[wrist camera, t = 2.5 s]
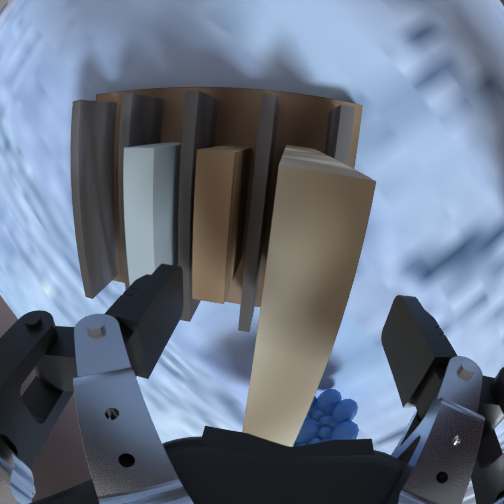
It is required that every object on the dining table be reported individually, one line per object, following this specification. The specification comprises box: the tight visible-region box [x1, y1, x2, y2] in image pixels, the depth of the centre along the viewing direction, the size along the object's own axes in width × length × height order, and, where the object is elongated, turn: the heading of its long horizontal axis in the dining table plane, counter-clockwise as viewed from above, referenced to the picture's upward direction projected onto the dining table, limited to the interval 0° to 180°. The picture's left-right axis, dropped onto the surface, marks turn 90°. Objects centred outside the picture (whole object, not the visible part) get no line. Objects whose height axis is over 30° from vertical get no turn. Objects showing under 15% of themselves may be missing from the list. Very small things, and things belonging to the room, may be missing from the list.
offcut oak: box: [192, 145, 252, 304], centre depth 19 cm, size 2×9×7 cm, turn 174°
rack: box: [71, 87, 362, 332], centre depth 21 cm, size 22×18×6 cm
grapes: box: [292, 389, 359, 447], centre depth 27 cm, size 12×7×12 cm, turn 116°
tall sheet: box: [242, 145, 376, 447], centre depth 15 cm, size 2×10×16 cm, turn 174°
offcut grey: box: [123, 142, 181, 285], centre depth 20 cm, size 2×9×7 cm, turn 174°
